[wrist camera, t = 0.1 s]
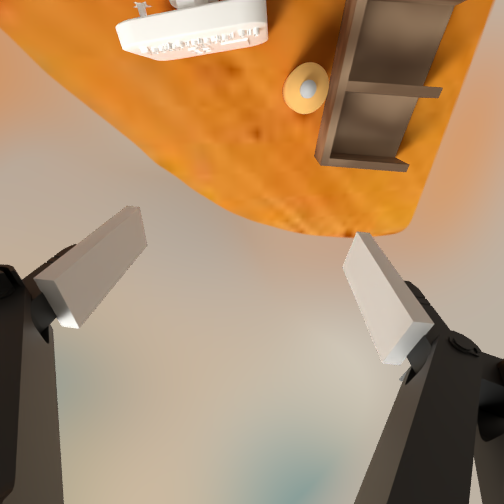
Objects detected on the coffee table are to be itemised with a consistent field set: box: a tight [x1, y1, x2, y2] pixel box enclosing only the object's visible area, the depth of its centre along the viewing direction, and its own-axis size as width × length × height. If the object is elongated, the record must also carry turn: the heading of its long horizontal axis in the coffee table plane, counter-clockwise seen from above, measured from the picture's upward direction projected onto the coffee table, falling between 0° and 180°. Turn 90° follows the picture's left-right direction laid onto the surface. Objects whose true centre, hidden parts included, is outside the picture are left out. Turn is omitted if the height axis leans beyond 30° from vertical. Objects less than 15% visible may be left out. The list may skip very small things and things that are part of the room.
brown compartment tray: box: [314, 0, 466, 172], centre depth 27 cm, size 27×12×6 cm, turn 177°
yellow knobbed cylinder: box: [282, 62, 329, 114], centre depth 28 cm, size 5×5×10 cm
